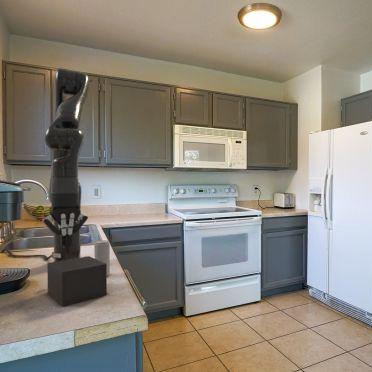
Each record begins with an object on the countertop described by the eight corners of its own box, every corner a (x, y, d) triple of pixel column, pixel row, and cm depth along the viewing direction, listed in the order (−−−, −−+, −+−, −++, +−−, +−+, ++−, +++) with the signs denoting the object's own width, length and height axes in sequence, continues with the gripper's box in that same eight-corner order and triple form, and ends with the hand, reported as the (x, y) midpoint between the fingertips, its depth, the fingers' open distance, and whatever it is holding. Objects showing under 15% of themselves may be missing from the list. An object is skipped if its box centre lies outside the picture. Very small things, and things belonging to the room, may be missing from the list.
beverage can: (112, 273, 112) (111, 240, 112) (106, 277, 107) (106, 243, 107) (98, 273, 112) (98, 240, 112) (92, 278, 107) (91, 243, 107)
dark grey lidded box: (47, 293, 92) (47, 262, 92) (89, 284, 101) (89, 256, 101) (62, 306, 83) (61, 272, 83) (106, 294, 91) (106, 263, 91)
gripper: (83, 191, 106) (84, 242, 106) (37, 192, 96) (38, 248, 96) (92, 191, 101) (92, 245, 101) (44, 192, 91) (45, 252, 91)
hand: (66, 246), depth 99 cm, fingers closed
